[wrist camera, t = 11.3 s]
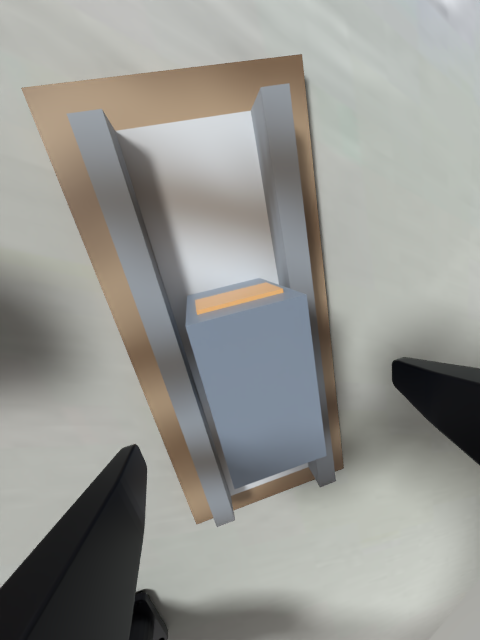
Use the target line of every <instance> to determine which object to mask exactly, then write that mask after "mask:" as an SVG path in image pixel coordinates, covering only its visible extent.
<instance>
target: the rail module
mask: <svg viewBox="0 0 480 640" xmlns="http://www.w3.org/2000/svg"><path fill="white" fill-rule="evenodd" d="M185 326H186V330H187V333H188V336H189V340H190V343H191V346H192V350H193V353H194V356H195V360H196V363H197V366H198V370H199V373H200V376H201V380H202V383H203V386H204V390H205V393H206V396H207V400H208V403H209V406H210V410H211V413H212V416H213V420H214V423H215V426H216V430H217V433H218V436H219V440H220V443H221V446H222V449H223V453H224V456H225V459H226V463H227V466H228V469H229V473H230V476H231V479H232V483H233V486H234V489H237V488H240V487H243V486H245V485H248V484H251V483H254V482H256V481H259V480H262V479H265V478H267V477H270V476H273V475H275V474H278V473H281V472H284V471H286V470H289V469H292V468H295V467H297V466H300V465H303V464H305V463H308V462H311V461H314V460H316V459H319V458H322V457H325V456H327V455H326V447H325V439H324V431H323V423H322V415H321V407H320V399H319V391H318V383H317V375H316V367H315V359H314V351H313V343H312V335H311V327H310V319H309V310H308V302H307V294H304V293H301V292H298V291H295V290H292V289H290V288H287V287H284V286H281V285H278V284H275V283H272V282H270V281H267V280H264V279H261V278H257V279H253V280H249V281H245V282H241V283H237V284H233V285H229V286H225V287H221V288H216V289H212V290H208V291H204V292H200V293H196V294H192V295H188V296H187V307H186V325H185Z"/></svg>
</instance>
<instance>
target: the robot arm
mask: <svg viewBox="0 0 480 640" xmlns="http://www.w3.org/2000/svg"><path fill="white" fill-rule="evenodd" d="M392 382H393V384H394V386H395V387H396V388H397V389H398V390H399V391H400V392H401V393H402V394H403V395H404V396H405V397H406V398H407V399H408V400H409V401H410V403H411V404H412V405H413V406H414V407H415V408H416V409H417V410H418V411H419V412H420V413H421V414H422V415H423V416H424V417H425V418H426V419H427V420H428V421H429V422H430V423H432V424H433V425H434V426H435V427H436V428H437V429H438V430H439V431H441V432H442V433H443V434H444V435H445V436H446V437H447V438H449V439H450V440H451V441H452V442H453V443H454V444H456V445H457V446H458V447H459V448H460V449H461V450H462V451H464V452H465V453H466V454H467V455H468V456H469V457H471V458H472V459H473V460H474V461H475V462H476V463H477V464H479V465H480V369H479V368H473V367H466V366H459V365H453V364H446V363H440V362H433V361H427V360H420V359H413V358H407V357H403V358H400V359H397V360H394V361H393V363H392ZM146 485H147V466H146V462H145V460H144V458H143V456H142V454H141V451H140V449H139V447H138V446H137V445H136V444H133V445H130V446H127V447H124V448H122V449H121V450H120V451H119V452H118V453H117V454H116V456H115V457H114V458H113V459H112V460H111V461H110V463H109V464H108V465H107V466H106V467H105V468H104V469H103V471H102V472H101V473H100V474H99V475H98V476H97V478H96V479H95V480H94V481H93V482H92V483H91V484H90V486H89V487H88V488H87V489H86V490H85V491H84V492H83V494H82V495H81V496H80V497H79V498H78V499H77V501H76V502H75V503H74V504H73V505H72V506H71V507H70V509H69V510H68V511H67V512H66V513H65V514H64V515H63V517H62V518H61V519H60V520H59V521H58V522H57V524H56V525H55V526H54V527H53V528H52V529H51V530H50V532H49V533H48V534H47V535H46V536H45V537H44V538H43V540H42V541H41V542H40V543H39V544H38V545H37V547H36V548H35V549H34V550H33V551H32V552H31V553H30V555H29V556H28V557H27V558H26V559H25V560H24V561H23V563H22V564H21V565H20V566H19V567H18V568H17V570H16V571H15V572H14V573H13V574H12V575H11V576H10V578H9V579H8V580H7V581H6V582H5V583H4V584H3V586H2V587H1V588H0V640H167V639H168V630H167V628H166V626H165V624H164V623H163V621H162V619H161V617H160V616H159V614H158V612H157V611H156V609H155V607H154V605H153V604H152V602H151V600H150V598H149V597H148V595H147V594H146V593H138V594H136V595H135V592H136V585H137V578H138V571H139V564H140V557H141V550H142V543H143V535H144V526H145V507H146Z"/></svg>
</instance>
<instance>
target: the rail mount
mask: <svg viewBox="0 0 480 640" xmlns="http://www.w3.org/2000/svg"><path fill="white" fill-rule="evenodd" d="M22 91H23V93H24V96H25V98H26V101H27V103H28V106H29V108H30V111H31V113H32V116H33V118H34V121H35V123H36V126H37V128H38V131H39V133H40V136H41V138H42V141H43V143H44V146H45V148H46V151H47V153H48V156H49V158H50V161H51V163H52V166H53V168H54V171H55V173H56V176H57V178H58V181H59V183H60V186H61V188H62V191H63V193H64V196H65V198H66V200H67V203H68V205H69V208H70V210H71V213H72V215H73V218H74V220H75V223H76V225H77V228H78V230H79V233H80V235H81V238H82V240H83V243H84V245H85V248H86V250H87V253H88V255H89V258H90V260H91V263H92V265H93V268H94V270H95V273H96V275H97V278H98V280H99V283H100V285H101V288H102V290H103V293H104V295H105V298H106V300H107V303H108V305H109V308H110V310H111V313H112V315H113V317H114V320H115V322H116V325H117V327H118V330H119V332H120V335H121V337H122V340H123V342H124V345H125V347H126V350H127V352H128V355H129V357H130V360H131V362H132V365H133V367H134V370H135V372H136V375H137V377H138V380H139V382H140V385H141V387H142V390H143V392H144V395H145V397H146V400H147V402H148V405H149V407H150V410H151V412H152V415H153V417H154V420H155V422H156V425H157V427H158V430H159V432H160V434H161V437H162V439H163V442H164V444H165V447H166V449H167V452H168V454H169V457H170V459H171V462H172V464H173V467H174V469H175V472H176V474H177V477H178V479H179V482H180V484H181V487H182V489H183V492H184V494H185V497H186V499H187V502H188V504H189V507H190V509H191V512H192V514H193V517H194V519H195V522H196V524H199V523H202V522H204V521H207V520H209V519H212V518H214V521H215V523H216V526H217V527H218V526H221V525H224V524H226V523H229V522H231V521H234V520H235V517H234V512H233V510H236V509H238V508H241V507H244V506H246V505H249V504H251V503H254V502H257V501H259V500H262V499H265V498H267V497H270V496H272V495H275V494H278V493H280V492H283V491H286V490H288V489H291V488H293V487H296V486H299V485H301V484H304V483H306V482H309V481H312V480H314V479H316V481H317V483H318V485H319V486H320V487H322V486H324V485H327V484H329V483H332V482H335V481H336V478H335V471H338V470H341V469H343V468H344V467H343V457H342V447H341V437H340V427H339V417H338V407H337V397H336V387H335V377H334V368H333V358H332V348H331V338H330V328H329V318H328V308H327V298H326V288H325V278H324V268H323V258H322V249H321V239H320V229H319V219H318V209H317V199H316V189H315V179H314V169H313V159H312V149H311V140H310V130H309V120H308V110H307V100H306V90H305V80H304V70H303V60H302V54H300V55H292V56H283V57H275V58H267V59H258V60H250V61H242V62H233V63H225V64H216V65H208V66H200V67H191V68H183V69H175V70H166V71H158V72H150V73H141V74H133V75H125V76H116V77H108V78H99V79H91V80H83V81H74V82H66V83H58V84H49V85H41V86H33V87H24V88H22ZM257 278H261V279H264V280H267V281H270V282H272V283H275V284H278V285H281V286H284V287H287V288H290V289H292V290H295V291H298V292H301V293H304V294H307V302H308V310H309V319H310V327H311V335H312V343H313V351H314V359H315V367H316V375H317V383H318V391H319V399H320V407H321V415H322V423H323V431H324V439H325V447H326V455H327V456H325V457H322V458H319V459H316V460H314V461H311V462H308V463H305V464H303V465H300V466H297V467H295V468H292V469H289V470H286V471H284V472H281V473H278V474H275V475H273V476H270V477H267V478H265V479H262V480H259V481H256V482H254V483H251V484H248V485H245V486H243V487H240V488H237V489H234V486H233V483H232V479H231V476H230V473H229V469H228V466H227V463H226V459H225V456H224V453H223V449H222V446H221V443H220V440H219V436H218V433H217V430H216V426H215V423H214V420H213V416H212V413H211V410H210V406H209V403H208V400H207V396H206V393H205V390H204V386H203V383H202V380H201V376H200V373H199V370H198V366H197V363H196V360H195V356H194V353H193V350H192V346H191V343H190V340H189V336H188V333H187V330H186V326H185V325H186V307H187V296H188V295H192V294H196V293H200V292H204V291H208V290H212V289H216V288H221V287H225V286H229V285H233V284H237V283H241V282H245V281H249V280H253V279H257Z"/></svg>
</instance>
